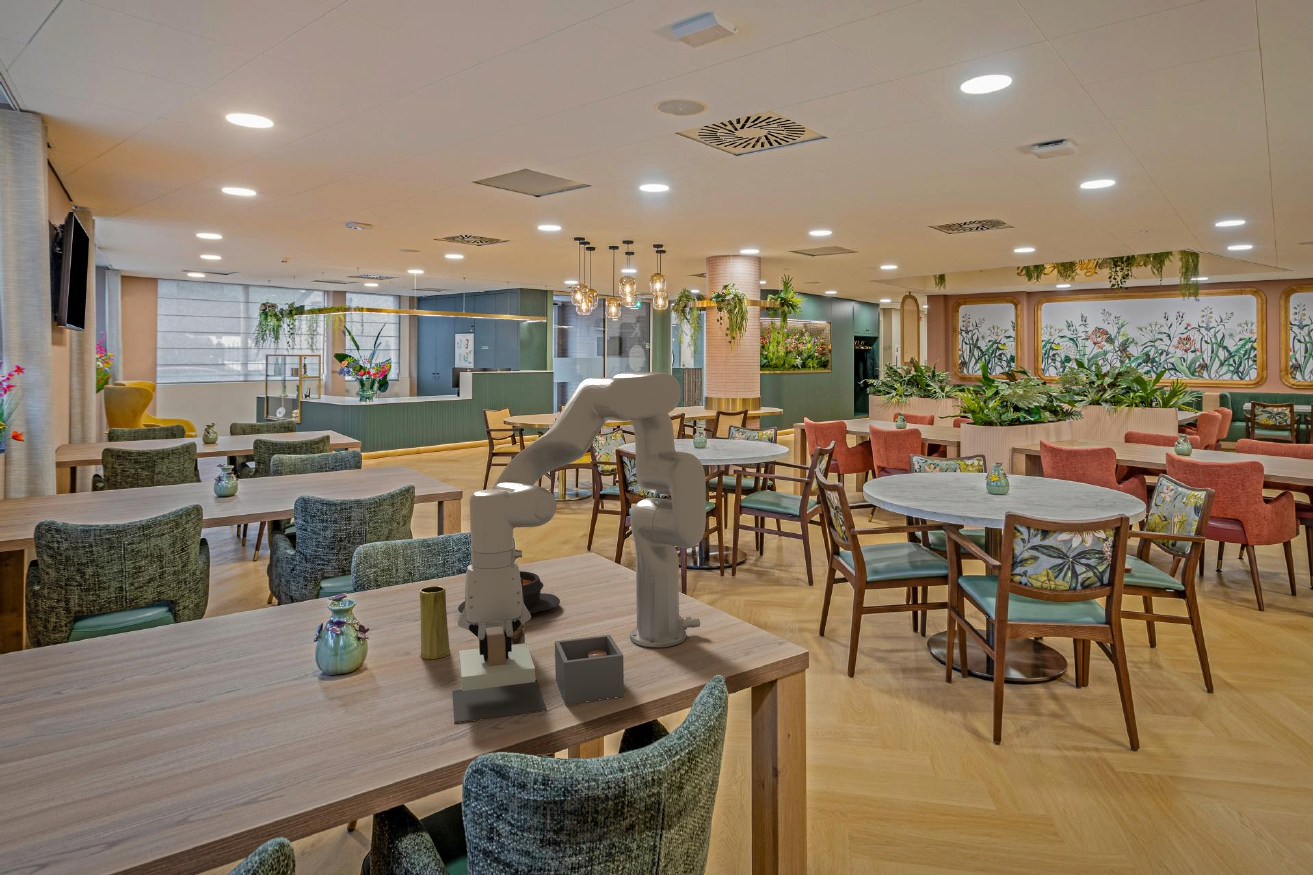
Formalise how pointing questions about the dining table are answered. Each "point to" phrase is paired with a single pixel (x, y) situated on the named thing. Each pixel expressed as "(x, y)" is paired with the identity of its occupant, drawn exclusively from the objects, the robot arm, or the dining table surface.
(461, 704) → the mat
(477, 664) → the lid
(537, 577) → the casserole
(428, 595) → the vase
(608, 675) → the storage box
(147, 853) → the dining table surface
